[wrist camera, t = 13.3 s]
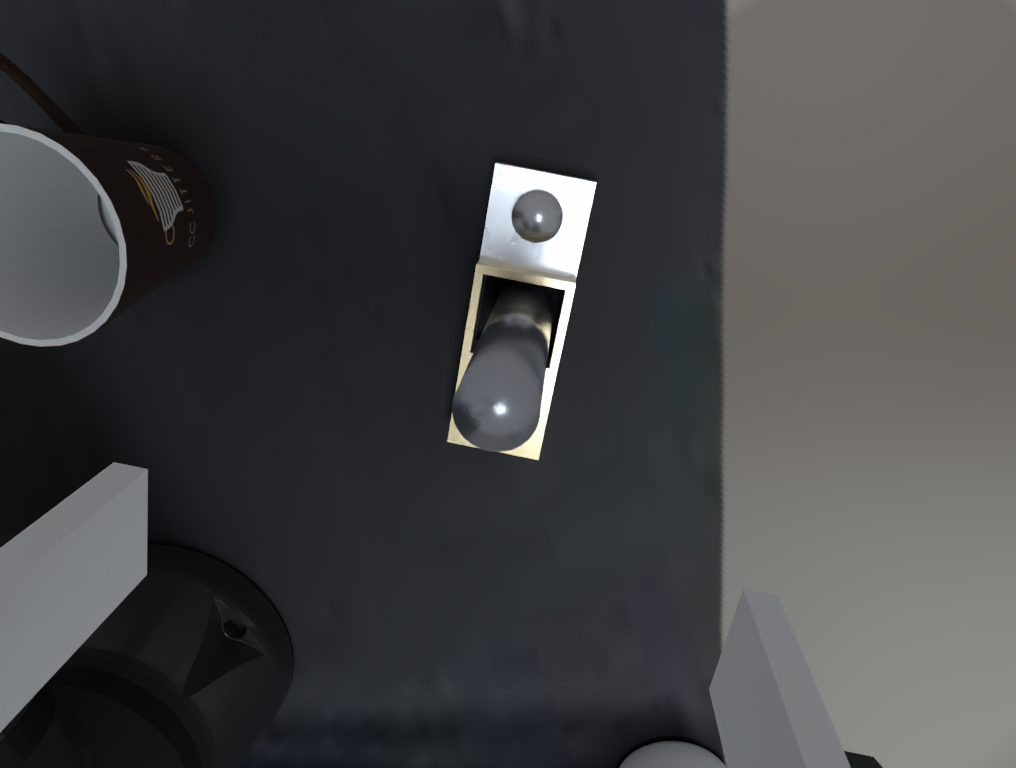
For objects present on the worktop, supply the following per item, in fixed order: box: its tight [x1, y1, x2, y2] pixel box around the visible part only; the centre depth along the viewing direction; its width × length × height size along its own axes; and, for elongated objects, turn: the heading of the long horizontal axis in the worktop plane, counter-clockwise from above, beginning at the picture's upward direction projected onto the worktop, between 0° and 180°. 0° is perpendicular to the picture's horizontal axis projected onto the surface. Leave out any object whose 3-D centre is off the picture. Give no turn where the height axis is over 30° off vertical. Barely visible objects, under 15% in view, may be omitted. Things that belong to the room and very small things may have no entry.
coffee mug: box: [0, 53, 216, 347], centre depth 33 cm, size 12×9×10 cm
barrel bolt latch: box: [447, 162, 596, 460], centre depth 37 cm, size 5×14×3 cm, turn 170°
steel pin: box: [452, 281, 554, 452], centre depth 32 cm, size 3×3×14 cm
